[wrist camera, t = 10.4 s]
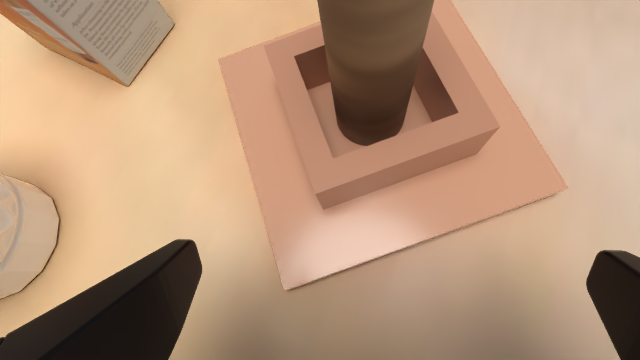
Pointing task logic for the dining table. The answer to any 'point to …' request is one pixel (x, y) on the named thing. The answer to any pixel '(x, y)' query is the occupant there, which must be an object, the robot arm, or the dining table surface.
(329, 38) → the thick brown pillar
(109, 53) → the small box
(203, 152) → the dining table surface
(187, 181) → the dining table surface
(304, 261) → the pink square stand base
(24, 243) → the white cup
